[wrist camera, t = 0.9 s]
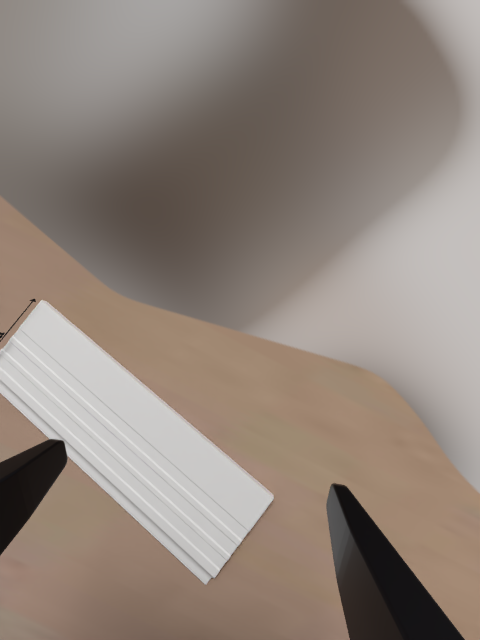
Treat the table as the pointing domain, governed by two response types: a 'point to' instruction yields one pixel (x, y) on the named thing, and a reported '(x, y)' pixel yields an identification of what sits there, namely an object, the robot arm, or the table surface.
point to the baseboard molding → (130, 441)
